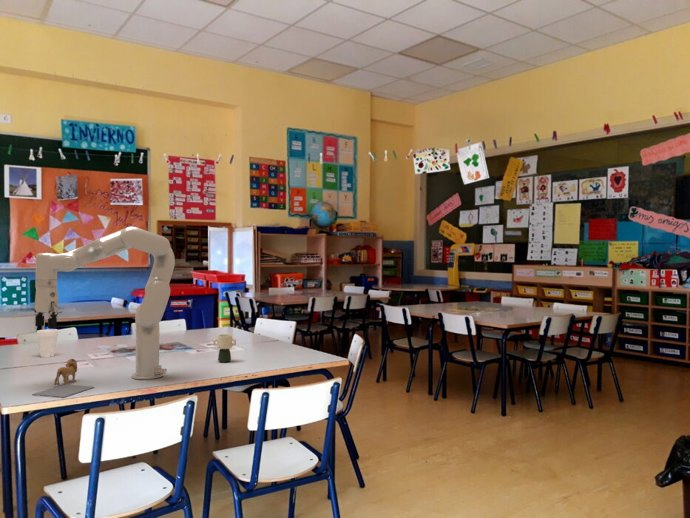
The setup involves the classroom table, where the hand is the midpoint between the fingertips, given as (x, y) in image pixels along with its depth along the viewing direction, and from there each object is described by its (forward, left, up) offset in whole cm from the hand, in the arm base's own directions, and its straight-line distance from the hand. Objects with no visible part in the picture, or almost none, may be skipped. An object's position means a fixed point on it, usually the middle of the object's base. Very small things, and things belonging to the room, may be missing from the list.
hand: (45, 327), depth 224 cm
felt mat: (-14, +6, -23) cm, 28 cm away
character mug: (-45, -64, -23) cm, 82 cm away
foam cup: (+47, -51, -23) cm, 73 cm away
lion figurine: (-5, -5, -23) cm, 24 cm away
